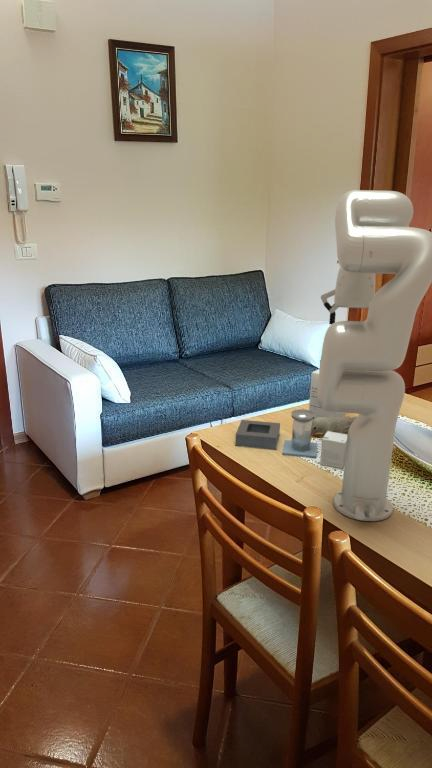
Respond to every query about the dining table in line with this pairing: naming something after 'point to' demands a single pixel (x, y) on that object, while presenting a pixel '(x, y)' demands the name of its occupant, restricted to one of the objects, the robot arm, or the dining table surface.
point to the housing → (257, 434)
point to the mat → (290, 452)
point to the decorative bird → (331, 424)
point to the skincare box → (333, 449)
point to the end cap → (302, 429)
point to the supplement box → (314, 403)
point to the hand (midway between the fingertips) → (351, 328)
